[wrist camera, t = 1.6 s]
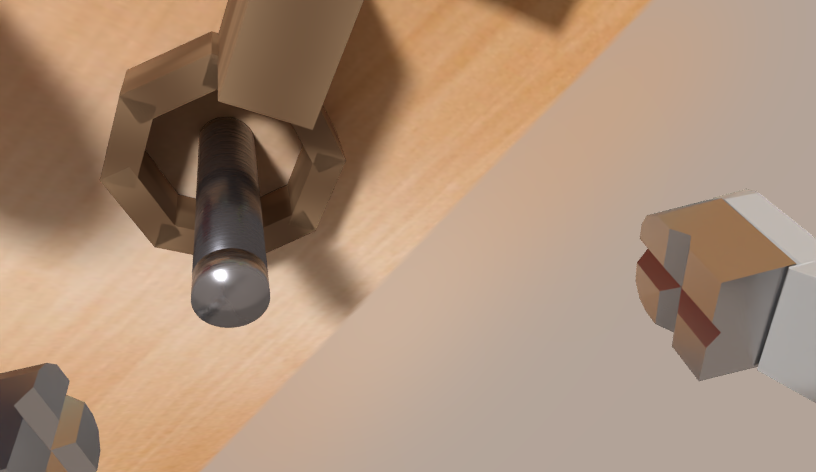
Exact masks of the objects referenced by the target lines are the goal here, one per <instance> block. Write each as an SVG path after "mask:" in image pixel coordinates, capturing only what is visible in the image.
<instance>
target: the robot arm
mask: <svg viewBox="0 0 816 472" xmlns="http://www.w3.org/2000/svg"><path fill="white" fill-rule="evenodd" d="M640 239H641V241H642V242H643V243H644V244H645V246H646V247H647V248H648V249H647V250H646V252H645V253H644V254H643V256H642V257H641V258H640V260H639V261H638V262H637V268H636V285H637V289H638V293H639V298H640V300H641V302H642V304H643V306H644V308H645V310H646V312H647V313H648V315H649V316H650V318H651V319H652V320H653V322H654V323H655V324H657V325H659V326H661V327H663V328H666V329H668V330H670V331H672V332H674V334H673V342H672V347H673V348H674V349H675V351H676V352H677V353H678V355H680V357H681V359H682V360H683V361H684V362H685V364H686V365H687V366H688V368H689V369H690V370H691V372H692V373H693V374H694V375H695V377H696V378H697V379H698V380H699V381H701V380H706V379H710V378H713V377H718V376H722V375H726V374H730V373H734V372H738V371H742V370H746V369H750V368H754V367H758V368H757V370H758V371H760V372H762V373H763V374H765V375H767V376H769V377H770V378H772V379H774V380H776V381H777V382H779V383H781V384H783V385H785V386H786V387H788V388H790V389H792V390H793V391H795V392H797V393H799V394H801V395H803V396H804V397H806V398H808V399H809V400H811V401H813V402H815V403H816V238H815V237H814V236H812V235H811V234H810V233H809V232H807V231H806V230H805V229H803V228H802V227H801V226H800V225H799V224H797V223H796V222H795V221H794V220H792V219H791V218H790V217H789V216H787V215H786V214H785V213H784V212H782V211H781V210H780V209H779V208H777V207H776V206H775V205H774V204H772V203H771V202H770V201H769V200H767V199H766V198H765V197H764V196H762V195H761V194H760V193H759V192H756V191H753V190H749V189H745V190H742V191H738V192H734V193H730V194H726V195H722V196H719V197H715V198H713V199H711V200H706V201H702V202H698V203H694V204H690V205H686V206H682V207H678V208H674V209H670V210H666V211H662V212H658V213H654V214H650V215H647V216H646V218H645V219H644V221H643V223H642V226H641V233H640ZM68 385H69V379H68V378H67V377H66V376H65V374H64V373H63V372H62V370H61V369H60V368H59V367H58V365H57V364H49V363H44V364H40V365H35V366H31V367H26V368H22V369H17V370H13V371H9V372H4V373H0V472H96V471H97V468H98V462H99V456H100V442H99V430H98V427H97V424H96V422H95V419H94V416H93V414H92V413H91V411H90V410H89V408H88V407H87V405H86V404H85V402H82V401H80V400H77V399H75V398H72V397H70V396H68V395H66V393H67V389H68Z"/></svg>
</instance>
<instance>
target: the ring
mask: <svg viewBox="0 0 816 472" xmlns="http://www.w3.org/2000/svg"><path fill="white" fill-rule="evenodd" d="M363 1H364V0H228V3H227V6H226V10H225V13H224V17H223V20H222V23H221V27H220V30H219V34H218V33H215V32H210V33H207V34H205V35H203V36H201V37H199V38H196V39H194V40H192V41H190V42H188V43H186V44H183V45H181V46H179V47H177V48H175V49H172V50H170V51H168V52H166V53H164V54H162V55H159V56H157V57H155V58H153V59H151V60H148V61H146V62H144V63H142V64H140V65H138V66H135V67H133V68H131V69H129V70H127V72H126V75H125V78H124V82H123V85H122V88H121V92H120V95H119V100H118V104H117V109H116V113H115V117H114V122H113V126H112V130H111V135H110V139H109V143H108V148H107V152H106V156H105V161H104V165H103V169H102V174H101V178H100V181H101V182H102V184H103V185H104V186H105V187H106V188H107V190H108V191H109V192H110V193H111V195H112V196H113V197H114V198H115V199H116V201H117V202H118V203H119V204H120V206H121V207H122V208H123V209H124V210H125V212H126V213H127V214H128V215H129V216H130V218H131V219H132V220H133V221H134V223H135V224H136V225H137V226H138V227H139V229H140V230H141V231H142V232H143V233H144V235H145V236H146V237H147V238H148V240H149V241H150V242H151V243H152V244H153V246H154V247H157V248H162V249H167V250H172V251H177V252H182V253H187V254H192V255H193V250H194V230H195V210H196V199H195V198H191V197H187V196H182V195H178V194H177V193H176V191H175V190H174V189H173V187H172V186H171V184H170V183H169V182H168V180H167V179H166V178H165V176H164V175H163V174H162V172H161V171H160V170H159V168H158V167H157V165H156V164H155V163H154V161H153V160H152V159H151V157H150V156H149V155H148V153H147V152H146V151H145V147H146V143H147V139H148V136H149V132H150V128H151V124H152V120H153V119H154V118H156V117H158V116H160V115H162V114H165V113H167V112H169V111H171V110H173V109H176V108H178V107H180V106H182V105H184V104H187V103H189V102H191V101H193V100H195V99H198V98H200V97H202V96H204V95H206V94H209V93H211V92H213V91H215V90H218V101H219V102H222V103H226V104H229V105H232V106H236V107H239V108H242V109H245V110H249V111H252V112H255V113H259V114H262V115H265V116H269V117H272V118H275V119H278V120H282V121H285V122H288V123H291V124H292V126H293V128H294V129H295V131H296V133H297V135H298V137H299V139H300V141H301V142H302V144H303V146H302V149H301V151H300V154H299V156H298V159H297V161H296V164H295V167H294V169H293V172H292V174H291V177H290V179H289V182H288V184H287V185H286V186H284V187H282V188H280V189H277V190H275V191H273V192H271V193H269V194H266V195H264V196H262V197H260V200H261V210H262V220H263V230H264V240H265V250H266V253H267V252H270V251H272V250H274V249H276V248H278V247H281V246H283V245H285V244H287V243H290V242H292V241H294V240H296V239H299V238H301V237H303V236H305V235H307V234H310V233H312V232H314V231H316V229H317V227H318V224H319V222H320V220H321V217H322V215H323V213H324V210H325V208H326V206H327V203H328V201H329V199H330V197H331V194H332V192H333V190H334V187H335V185H336V183H337V180H338V178H339V176H340V173H341V171H342V169H343V166H344V164H345V162H346V160H345V157H344V154H343V151H342V148H341V144H340V141H339V138H338V135H337V133H336V131H335V129H334V127H333V125H332V123H331V121H330V119H329V117H328V115H327V113H326V111H325V109H324V107H323V102H324V100H325V97H326V95H327V92H328V90H329V87H330V85H331V82H332V80H333V77H334V74H335V72H336V69H337V67H338V64H339V62H340V59H341V57H342V54H343V52H344V49H345V47H346V44H347V41H348V39H349V36H350V34H351V31H352V29H353V26H354V24H355V21H356V19H357V16H358V14H359V11H360V8H361V6H362V3H363Z"/></svg>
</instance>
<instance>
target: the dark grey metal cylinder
mask: <svg viewBox="0 0 816 472" xmlns="http://www.w3.org/2000/svg"><path fill="white" fill-rule="evenodd" d="M269 302H270V289H269V279H268V270H267V260H266V250H265V240H264V230H263V220H262V210H261V200H260V191H259V181H258V171H257V161H256V151H255V141H254V136H253V133H252V131H251V130H250V128H249V127H248V126H247V125H246V124H245V123H243V122H242V121H240V120H238V119H235V118H230V117H221V118H217V119H214V120H212V121H210V122H209V123H207V124H206V125H205V126H204V127H203V129H202V130H201V133H200V136H199V149H198V169H197V189H196V210H195V230H194V250H193V270H192V290H191V304H192V308H193V310H194V312H195V313H196V314H197V316H198V317H199V318H201V319H202V320H203V321H205V322H207V323H209V324H211V325H214V326H218V327H225V328H232V327H240V326H244V325H247V324H249V323H251V322H253V321H255V320H256V319H258V318H259V317H260V316H262V314H263V313H264V312H265V311H266V309H267V307H268V305H269Z"/></svg>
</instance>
